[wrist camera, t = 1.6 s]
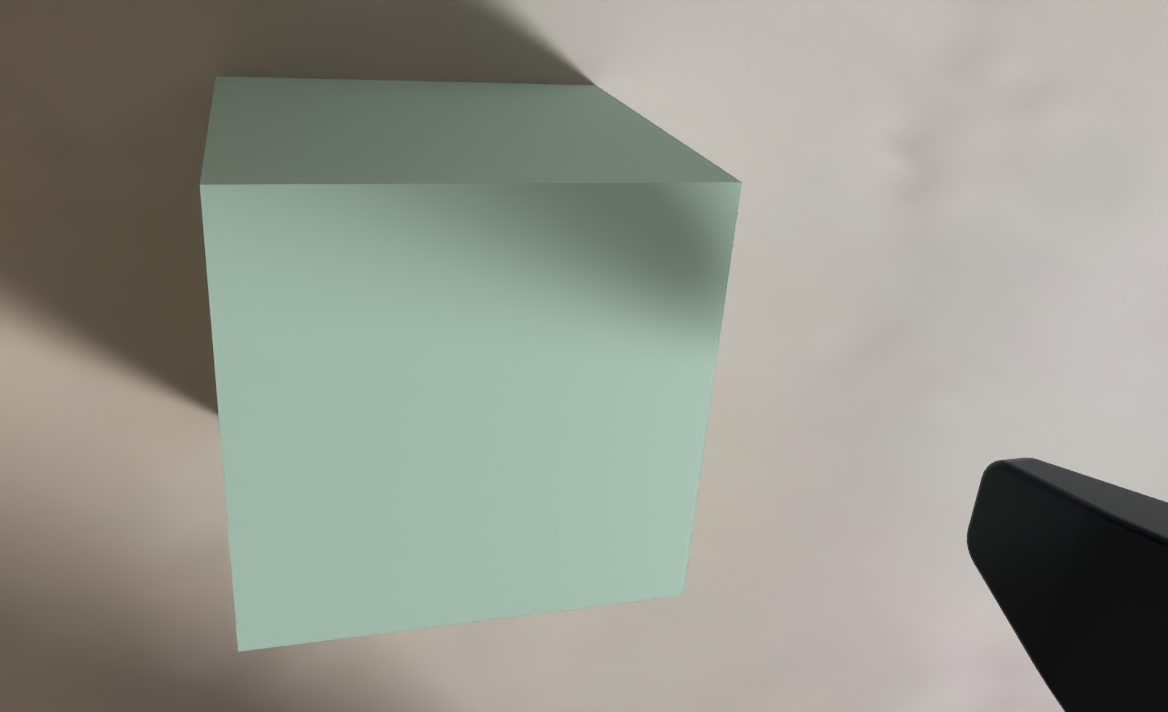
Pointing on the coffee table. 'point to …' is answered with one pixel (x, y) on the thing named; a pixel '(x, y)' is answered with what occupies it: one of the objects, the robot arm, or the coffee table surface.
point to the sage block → (455, 349)
